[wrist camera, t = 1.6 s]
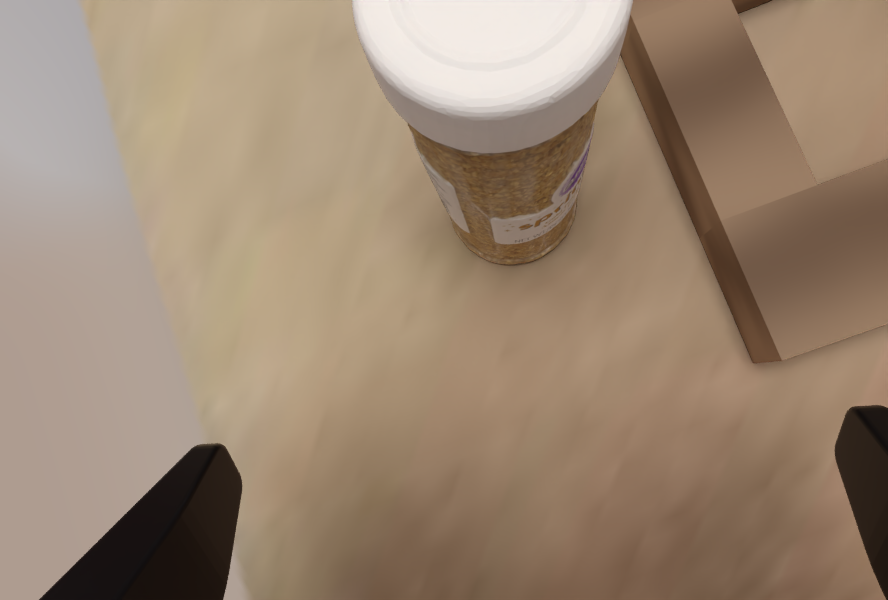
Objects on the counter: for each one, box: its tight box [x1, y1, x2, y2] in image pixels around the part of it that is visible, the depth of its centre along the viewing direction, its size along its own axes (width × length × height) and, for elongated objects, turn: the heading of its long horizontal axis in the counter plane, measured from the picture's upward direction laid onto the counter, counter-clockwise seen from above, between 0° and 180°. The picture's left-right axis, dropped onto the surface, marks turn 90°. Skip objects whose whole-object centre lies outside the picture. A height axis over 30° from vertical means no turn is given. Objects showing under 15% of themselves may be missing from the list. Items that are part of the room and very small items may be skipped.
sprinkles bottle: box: [352, 0, 633, 264], centre depth 17 cm, size 5×5×14 cm
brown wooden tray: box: [620, 0, 888, 363], centre depth 21 cm, size 16×13×2 cm
